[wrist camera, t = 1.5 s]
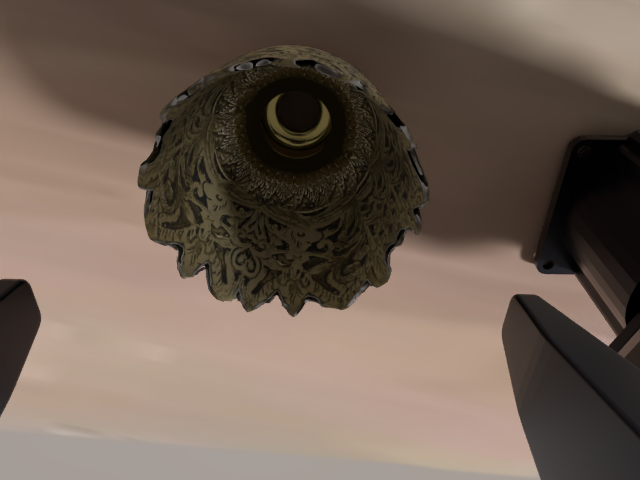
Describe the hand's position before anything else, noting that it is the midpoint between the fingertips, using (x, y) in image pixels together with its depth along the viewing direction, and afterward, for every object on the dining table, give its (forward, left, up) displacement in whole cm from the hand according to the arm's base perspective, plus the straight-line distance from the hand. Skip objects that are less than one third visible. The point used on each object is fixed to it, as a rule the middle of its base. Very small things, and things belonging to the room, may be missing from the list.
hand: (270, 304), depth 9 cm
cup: (0, 0, -12) cm, 12 cm away
